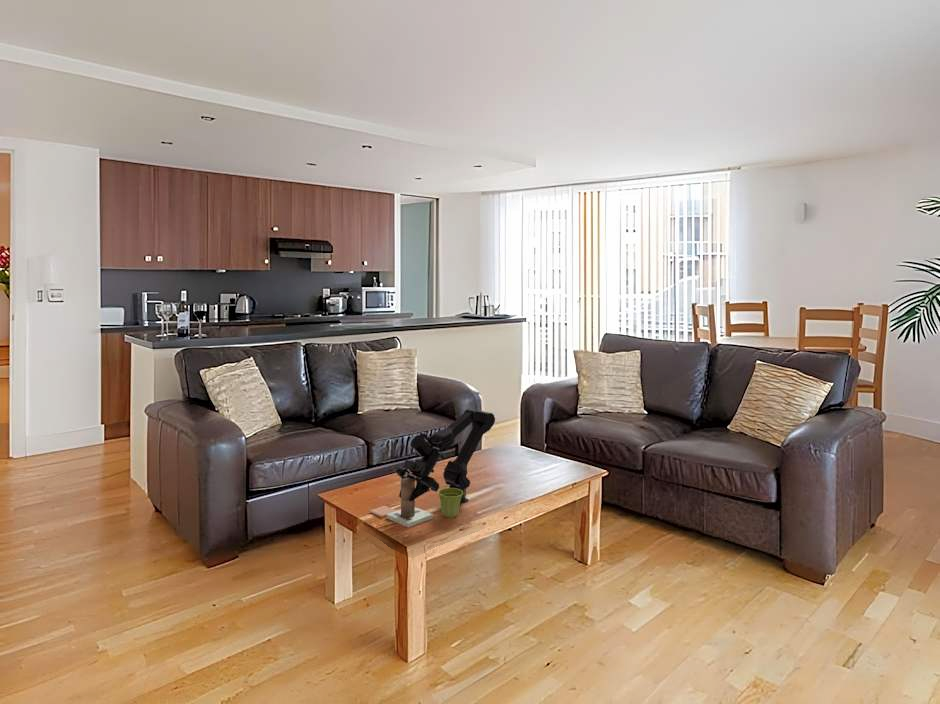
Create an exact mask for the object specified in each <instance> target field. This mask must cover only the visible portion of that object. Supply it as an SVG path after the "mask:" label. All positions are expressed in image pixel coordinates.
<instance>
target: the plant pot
mask: <svg viewBox="0 0 940 704" xmlns="http://www.w3.org/2000/svg"><path fill="white" fill-rule="evenodd" d="M437 493H438V494H437V495H438V496H439V500H440V507H441V508H440V509H441V515H442V516H444V517H445V518H454V517H457V516H459V511H460V506H461V503H460V501H461V498H462V495H463V491H462V490H460V489H457V488H449V487H444V488H441V489H438V491H437Z"/></svg>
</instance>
